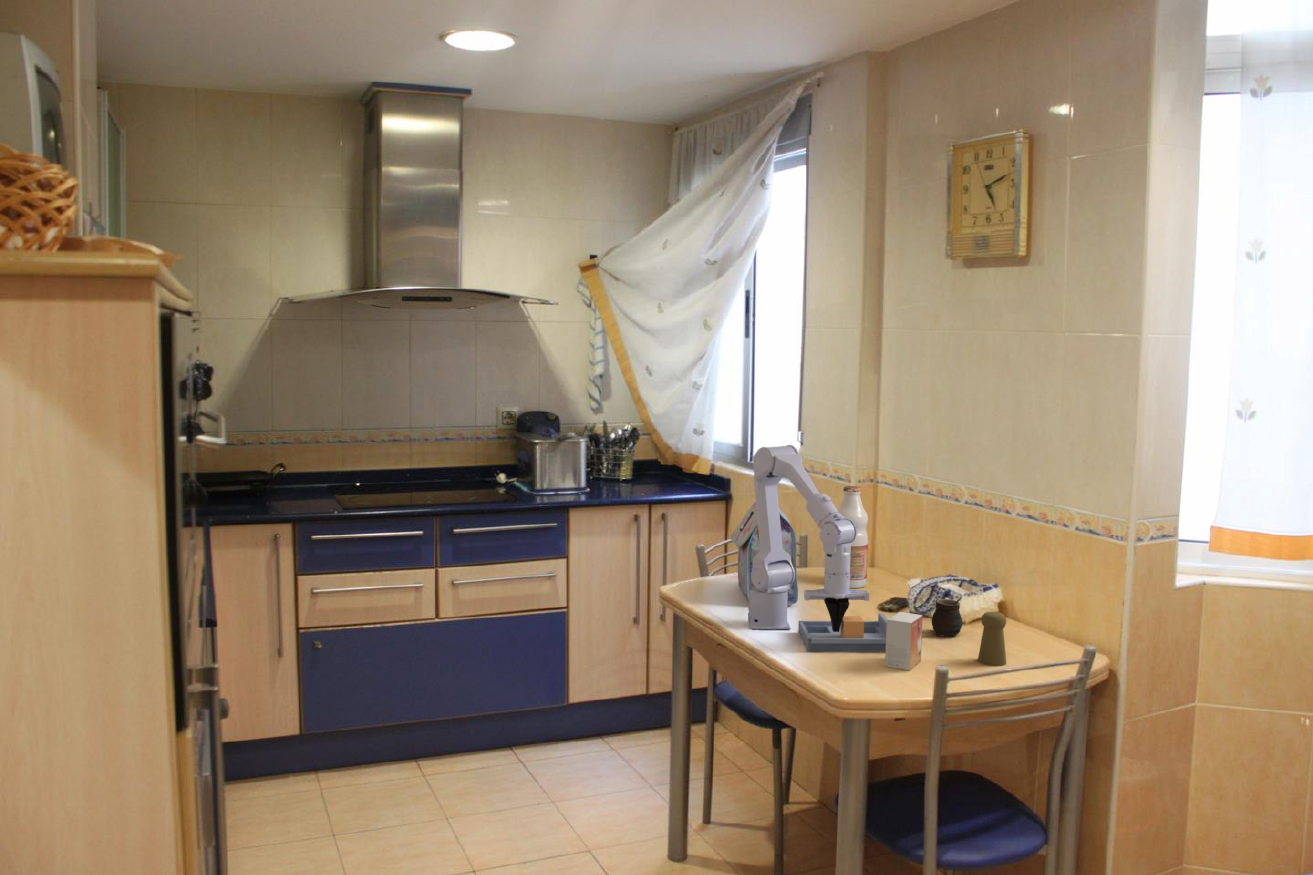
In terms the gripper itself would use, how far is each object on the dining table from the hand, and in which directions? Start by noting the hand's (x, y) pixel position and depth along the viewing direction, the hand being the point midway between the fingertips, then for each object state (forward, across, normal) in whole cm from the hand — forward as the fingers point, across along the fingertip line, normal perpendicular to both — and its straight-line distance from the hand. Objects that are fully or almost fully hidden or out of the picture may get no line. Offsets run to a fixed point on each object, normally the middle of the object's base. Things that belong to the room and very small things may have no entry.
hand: (835, 630), depth 249 cm
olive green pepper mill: (+4, +33, -11) cm, 35 cm away
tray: (+4, +3, +3) cm, 6 cm away
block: (+2, +4, 0) cm, 4 cm away
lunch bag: (+4, -12, +45) cm, 47 cm away
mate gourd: (+4, +28, +10) cm, 30 cm away
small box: (+4, +13, -13) cm, 18 cm away
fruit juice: (+4, +14, +59) cm, 61 cm away
